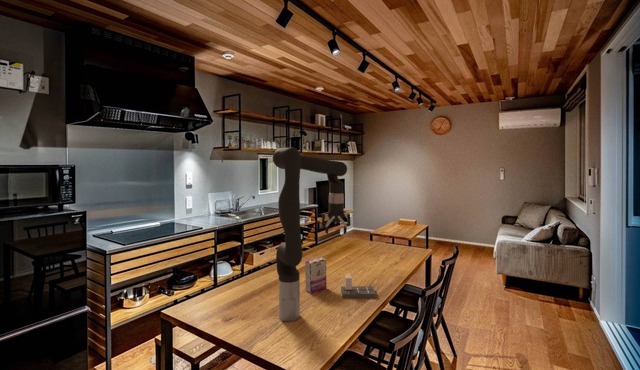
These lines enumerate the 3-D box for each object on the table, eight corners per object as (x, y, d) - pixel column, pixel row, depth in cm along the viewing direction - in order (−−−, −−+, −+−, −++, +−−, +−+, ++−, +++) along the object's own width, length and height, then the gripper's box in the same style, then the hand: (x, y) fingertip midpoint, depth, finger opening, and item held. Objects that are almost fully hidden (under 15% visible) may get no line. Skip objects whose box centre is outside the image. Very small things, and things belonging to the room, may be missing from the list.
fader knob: (351, 291, 171) (351, 278, 171) (345, 291, 171) (346, 278, 171) (350, 288, 175) (350, 275, 175) (345, 288, 175) (345, 275, 175)
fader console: (375, 297, 169) (375, 293, 169) (342, 297, 169) (342, 293, 168) (372, 289, 179) (372, 286, 179) (340, 290, 178) (340, 286, 178)
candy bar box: (320, 285, 185) (320, 256, 183) (326, 288, 181) (326, 258, 179) (304, 290, 178) (304, 260, 176) (310, 293, 174) (310, 263, 172)
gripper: (322, 202, 162) (321, 235, 163) (351, 203, 162) (350, 235, 163) (321, 200, 169) (321, 232, 170) (349, 201, 169) (349, 232, 171)
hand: (335, 234), depth 167 cm, fingers open, 8 cm apart
